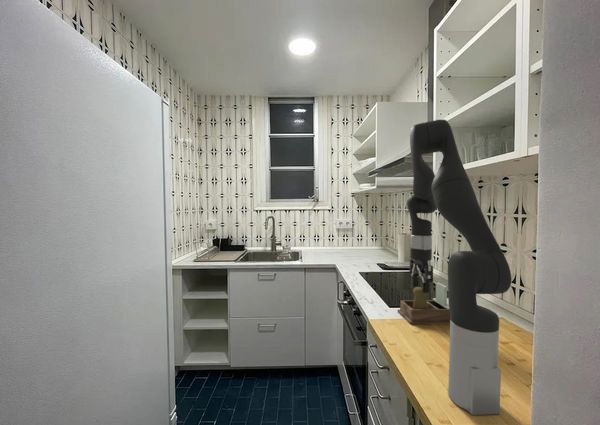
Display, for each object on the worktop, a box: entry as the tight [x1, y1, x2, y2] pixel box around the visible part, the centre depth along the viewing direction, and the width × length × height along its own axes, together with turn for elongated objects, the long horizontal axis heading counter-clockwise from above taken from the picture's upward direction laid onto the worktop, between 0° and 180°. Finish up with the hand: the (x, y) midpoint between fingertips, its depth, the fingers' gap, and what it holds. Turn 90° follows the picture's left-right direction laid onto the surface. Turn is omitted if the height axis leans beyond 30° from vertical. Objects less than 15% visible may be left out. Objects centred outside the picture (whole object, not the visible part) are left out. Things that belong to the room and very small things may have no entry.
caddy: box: [397, 299, 450, 326], centre depth 111 cm, size 12×24×5 cm, turn 93°
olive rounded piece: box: [412, 286, 429, 309], centre depth 109 cm, size 6×6×11 cm
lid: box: [432, 282, 449, 309], centre depth 111 cm, size 11×10×8 cm
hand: (420, 289), depth 110 cm, fingers open, 8 cm apart
